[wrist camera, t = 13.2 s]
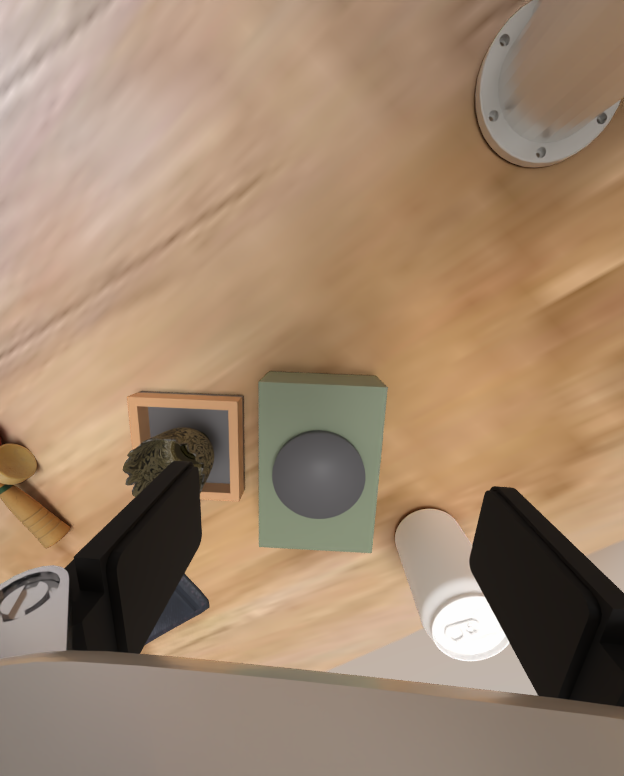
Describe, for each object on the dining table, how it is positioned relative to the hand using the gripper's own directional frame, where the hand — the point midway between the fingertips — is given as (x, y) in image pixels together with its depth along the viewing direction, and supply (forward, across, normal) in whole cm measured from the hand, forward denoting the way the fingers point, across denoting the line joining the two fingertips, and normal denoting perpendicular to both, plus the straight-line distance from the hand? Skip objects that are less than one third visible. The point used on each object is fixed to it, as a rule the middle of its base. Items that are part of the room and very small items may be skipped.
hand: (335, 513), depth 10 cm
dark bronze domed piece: (+23, +15, +10) cm, 29 cm away
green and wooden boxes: (+24, +8, +10) cm, 27 cm away
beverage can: (+24, -14, +20) cm, 34 cm away
